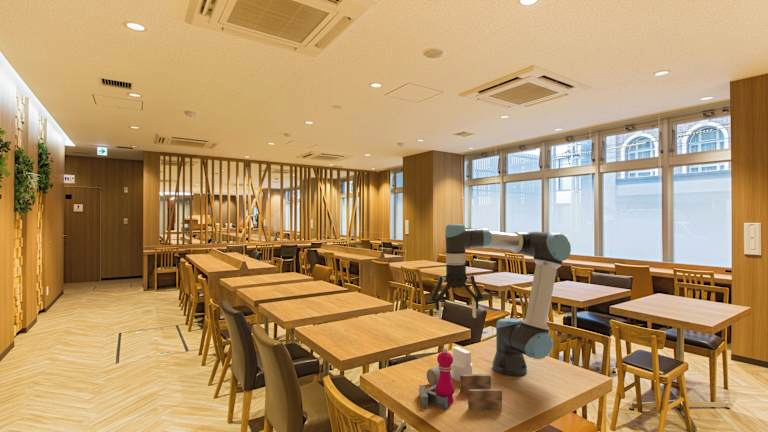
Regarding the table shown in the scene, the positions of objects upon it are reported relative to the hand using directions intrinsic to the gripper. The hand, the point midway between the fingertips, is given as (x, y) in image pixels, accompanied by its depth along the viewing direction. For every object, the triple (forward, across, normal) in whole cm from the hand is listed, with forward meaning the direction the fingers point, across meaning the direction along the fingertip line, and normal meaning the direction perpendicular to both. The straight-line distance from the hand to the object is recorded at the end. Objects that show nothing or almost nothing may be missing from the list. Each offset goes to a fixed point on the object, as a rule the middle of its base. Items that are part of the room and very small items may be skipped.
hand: (457, 317), depth 155 cm
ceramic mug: (+31, +5, -9) cm, 33 cm away
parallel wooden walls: (+31, -7, +4) cm, 32 cm away
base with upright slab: (+31, -5, -18) cm, 36 cm away
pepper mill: (+31, +6, +4) cm, 32 cm away
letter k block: (+30, +10, +4) cm, 32 cm away
